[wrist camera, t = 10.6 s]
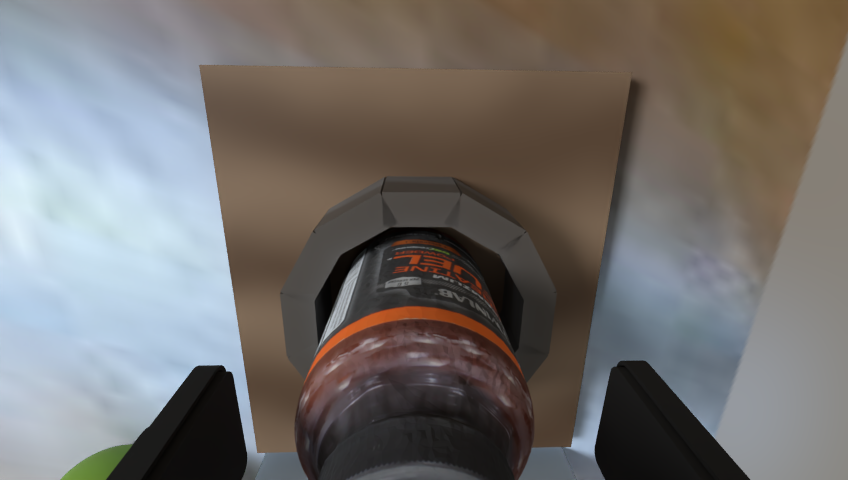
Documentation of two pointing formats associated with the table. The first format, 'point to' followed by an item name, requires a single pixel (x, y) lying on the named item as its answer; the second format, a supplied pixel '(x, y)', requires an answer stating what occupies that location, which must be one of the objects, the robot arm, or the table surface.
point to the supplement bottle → (414, 372)
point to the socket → (413, 207)
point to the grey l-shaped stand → (542, 476)
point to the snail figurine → (98, 464)
